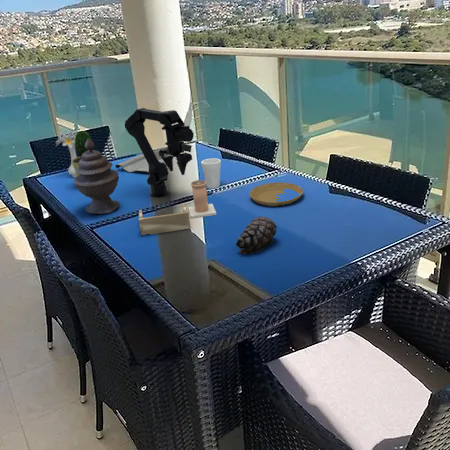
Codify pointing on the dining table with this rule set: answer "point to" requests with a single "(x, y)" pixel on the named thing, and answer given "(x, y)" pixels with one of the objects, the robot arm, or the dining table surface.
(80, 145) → the potted cactus
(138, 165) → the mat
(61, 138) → the flower vase
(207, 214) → the stone tile
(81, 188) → the decorative urn
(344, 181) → the dining table surface
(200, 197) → the terracotta pot
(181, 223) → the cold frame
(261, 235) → the pine cone
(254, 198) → the plant saucer
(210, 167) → the foam cup
